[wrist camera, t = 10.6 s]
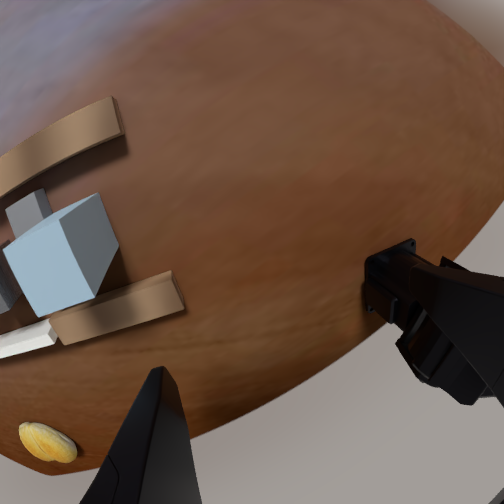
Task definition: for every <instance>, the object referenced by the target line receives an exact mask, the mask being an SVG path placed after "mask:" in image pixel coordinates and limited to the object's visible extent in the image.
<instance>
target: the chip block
mask: <svg viewBox="0 0 504 504" xmlns="http://www.w3.org/2000/svg"><path fill="white" fill-rule="evenodd" d="M9 244H11V243H10V241H9V240H7V241H5V242H4V243H2V244H0V314H1V313H4V312H6V311H9V310H10V309H11V307H12V306H13V305H14V303H15V302H16V301H17V299H18V298H19V297H20V296H21V294H22V293H23V290H22V289H21V287H20V285H19V283H18V281H17V279H16V277H15V275H14V273H13V271H12V269H11V267H10V265H9V263H8V261H7V258H6V256H5V254H4V252H3V249H4V248H6V247H7V246H8V245H9Z"/></svg>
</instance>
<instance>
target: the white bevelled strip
mask: <svg viewBox="0 0 504 504" xmlns="http://www.w3.org/2000/svg"><path fill="white" fill-rule="evenodd" d="M49 319H50V318H49ZM49 319H46V320H43V321H40V322H37V323H34V324H31V325H29V326H26V327H23V328H20V329H17V330H14V331H11V332H8V333H5V334H2V335H0V358H4V357H8V356H11V355H15V354H19V353H23V352H27V351H30V350H34V349H38V348H41V347H45V346H49V345H52V344H55V342H56V339H57V337H58V335H57V334H56V333H55V331H54V330H53V328H52V326H51V325H50V323H49V322H48V321H49Z"/></svg>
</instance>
